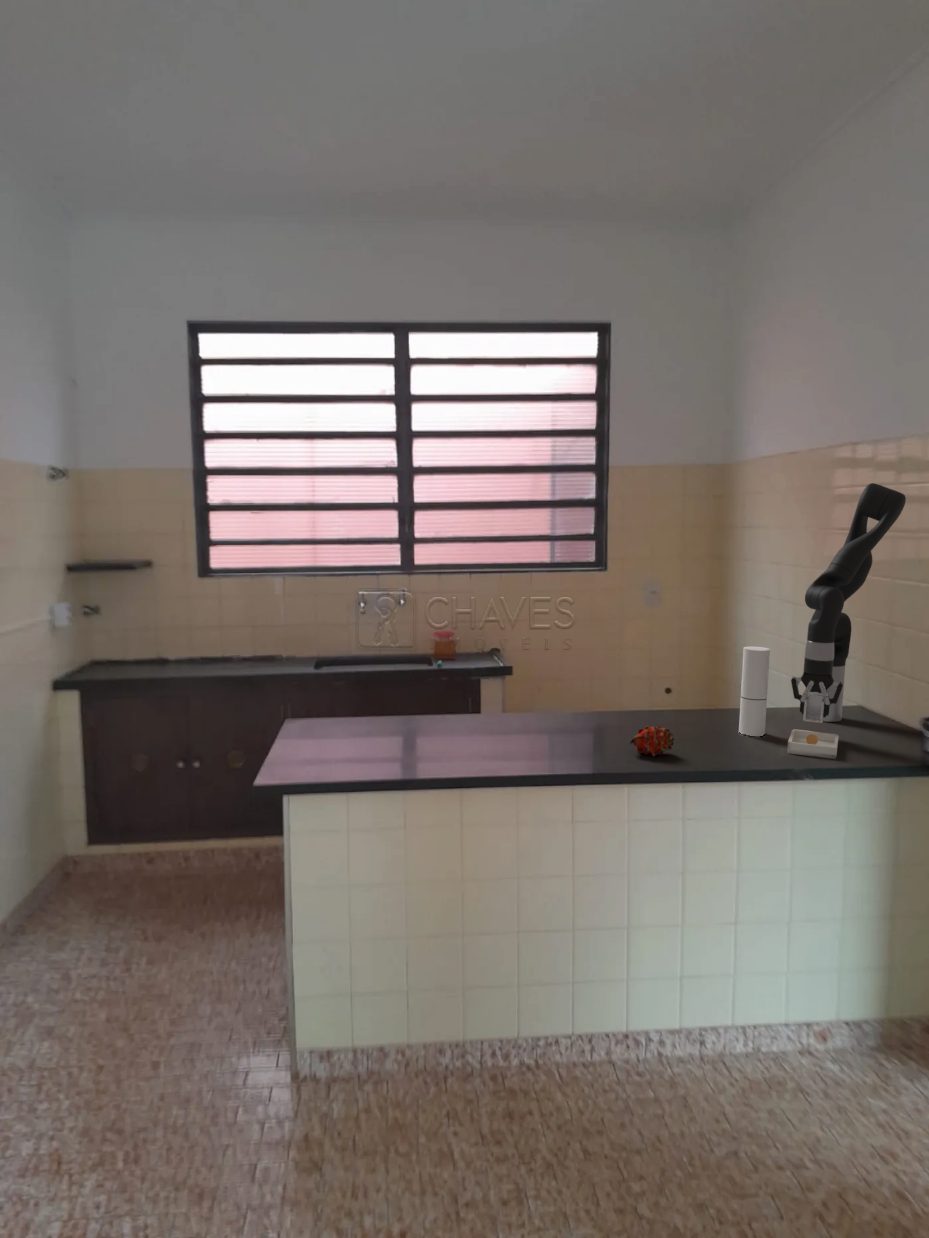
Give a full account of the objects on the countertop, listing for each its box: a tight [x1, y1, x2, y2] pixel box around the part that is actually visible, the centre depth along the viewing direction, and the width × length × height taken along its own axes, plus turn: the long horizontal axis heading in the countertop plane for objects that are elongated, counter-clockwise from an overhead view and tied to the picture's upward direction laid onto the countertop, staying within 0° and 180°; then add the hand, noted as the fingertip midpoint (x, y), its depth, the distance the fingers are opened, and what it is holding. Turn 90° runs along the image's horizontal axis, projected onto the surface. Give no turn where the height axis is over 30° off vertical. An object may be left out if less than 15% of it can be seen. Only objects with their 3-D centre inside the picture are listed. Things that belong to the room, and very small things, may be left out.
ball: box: [806, 734, 818, 745], centre depth 234 cm, size 3×3×3 cm
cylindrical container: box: [738, 645, 771, 737], centre depth 248 cm, size 7×7×25 cm
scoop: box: [802, 694, 825, 724], centre depth 244 cm, size 8×5×6 cm, turn 154°
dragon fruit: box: [629, 724, 675, 757], centre depth 227 cm, size 8×8×12 cm
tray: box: [786, 728, 840, 760], centre depth 234 cm, size 15×12×3 cm
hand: (814, 715), depth 244 cm, fingers closed on scoop, 5 cm apart
